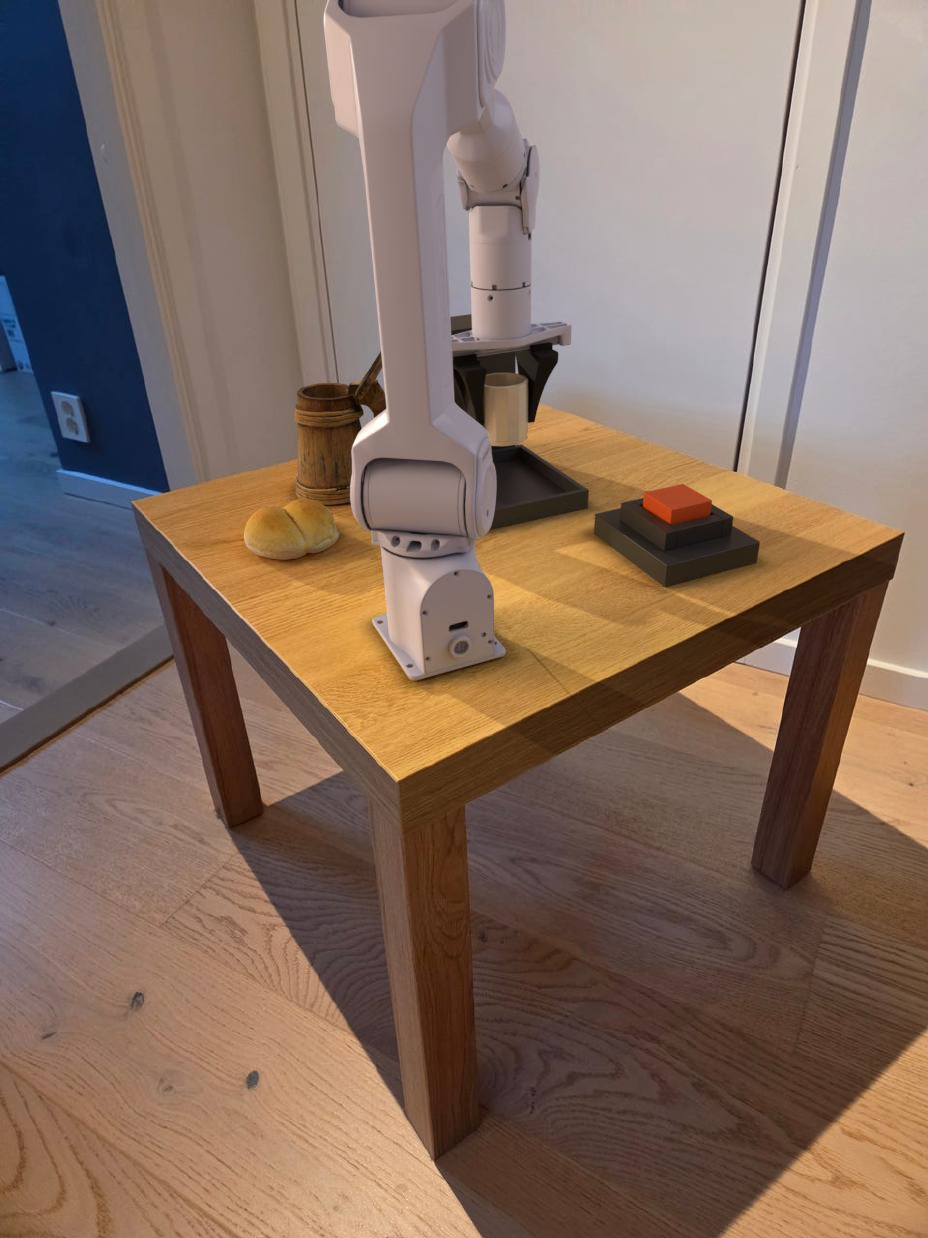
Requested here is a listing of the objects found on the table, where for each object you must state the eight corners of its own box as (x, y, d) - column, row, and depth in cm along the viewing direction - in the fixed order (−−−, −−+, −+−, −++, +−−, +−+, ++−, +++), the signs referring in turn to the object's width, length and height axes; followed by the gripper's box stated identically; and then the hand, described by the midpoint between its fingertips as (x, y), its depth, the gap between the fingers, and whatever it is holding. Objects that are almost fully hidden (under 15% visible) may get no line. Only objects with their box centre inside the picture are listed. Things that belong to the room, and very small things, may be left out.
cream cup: (536, 440, 87) (537, 382, 84) (489, 449, 85) (488, 390, 82) (514, 425, 91) (513, 369, 88) (468, 434, 89) (466, 377, 86)
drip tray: (588, 508, 89) (588, 489, 88) (472, 534, 84) (472, 515, 83) (521, 461, 101) (522, 444, 100) (417, 481, 96) (416, 464, 95)
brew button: (710, 517, 78) (712, 500, 77) (669, 527, 76) (671, 509, 75) (681, 500, 81) (683, 483, 80) (642, 509, 80) (643, 492, 79)
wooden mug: (407, 508, 90) (395, 334, 81) (285, 504, 92) (258, 334, 83) (422, 476, 98) (412, 313, 88) (309, 473, 100) (287, 313, 90)
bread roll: (239, 537, 86) (232, 500, 84) (324, 518, 89) (319, 483, 87) (257, 571, 79) (250, 532, 77) (348, 550, 82) (344, 513, 80)
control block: (756, 563, 78) (763, 523, 75) (664, 588, 74) (669, 547, 72) (678, 513, 87) (682, 477, 85) (593, 534, 84) (595, 496, 82)
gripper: (548, 269, 86) (546, 402, 93) (413, 285, 81) (422, 424, 88) (584, 281, 80) (578, 421, 87) (442, 299, 75) (448, 445, 83)
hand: (502, 424), depth 87 cm, fingers closed on cream cup, 5 cm apart
